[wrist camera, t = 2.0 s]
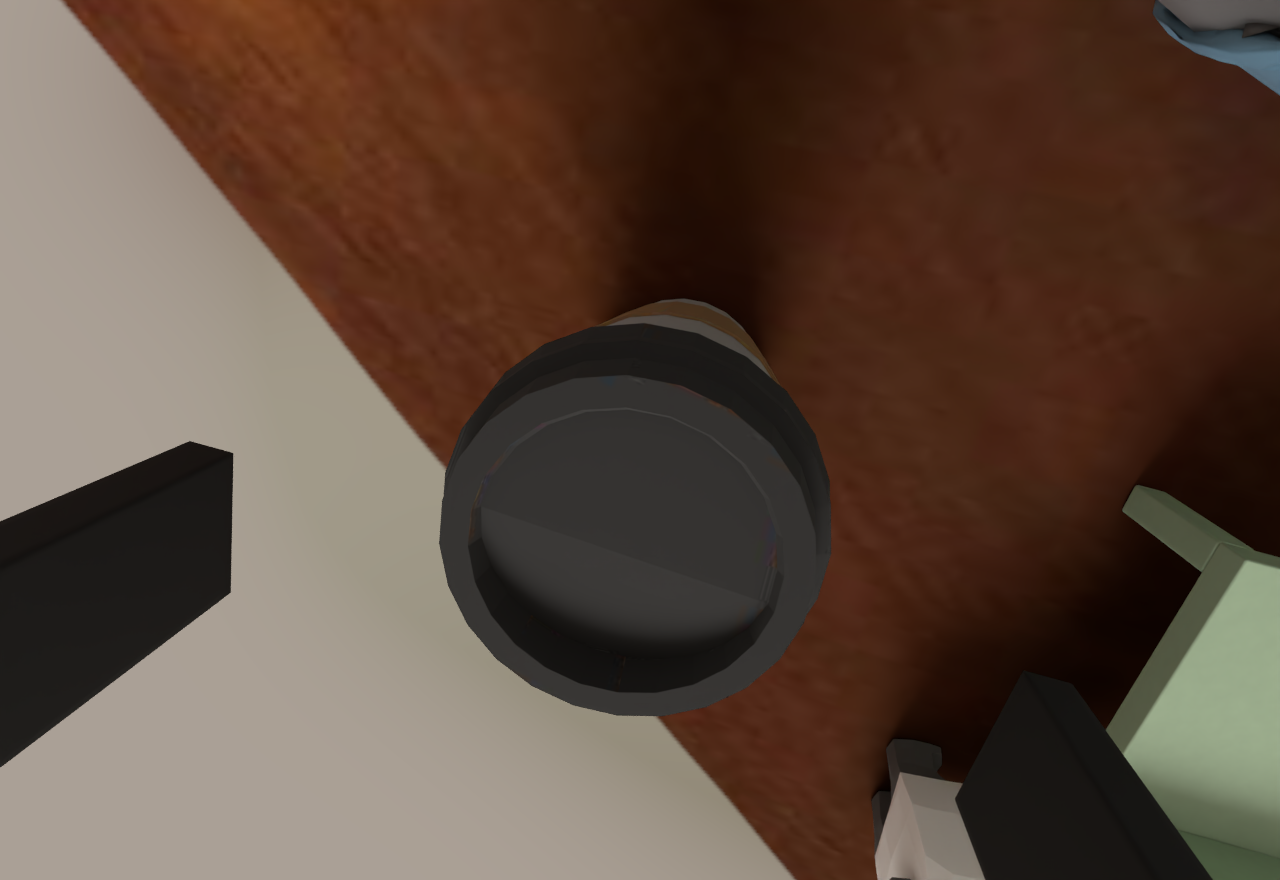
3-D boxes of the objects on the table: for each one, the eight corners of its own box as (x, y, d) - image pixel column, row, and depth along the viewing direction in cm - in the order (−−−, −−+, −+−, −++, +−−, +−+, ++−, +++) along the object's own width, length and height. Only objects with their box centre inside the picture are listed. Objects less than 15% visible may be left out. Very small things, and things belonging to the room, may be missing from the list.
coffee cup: (743, 500, 28) (754, 789, 14) (556, 437, 28) (381, 660, 14) (819, 309, 25) (927, 434, 11) (610, 241, 25) (458, 279, 11)
